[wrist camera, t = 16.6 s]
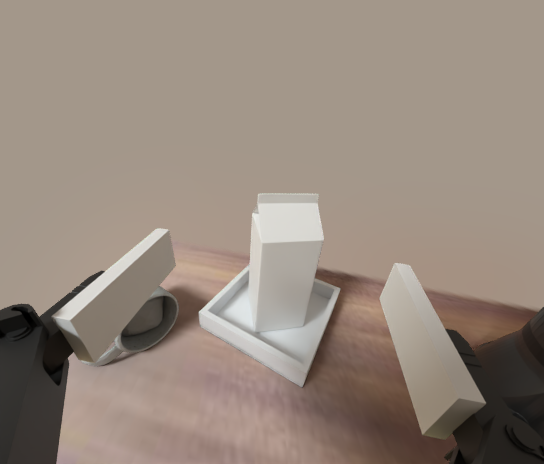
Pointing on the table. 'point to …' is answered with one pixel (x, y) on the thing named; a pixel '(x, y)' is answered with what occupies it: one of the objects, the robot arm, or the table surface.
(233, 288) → the tray
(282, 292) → the milk carton
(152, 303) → the ceramic mug
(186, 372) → the table surface
